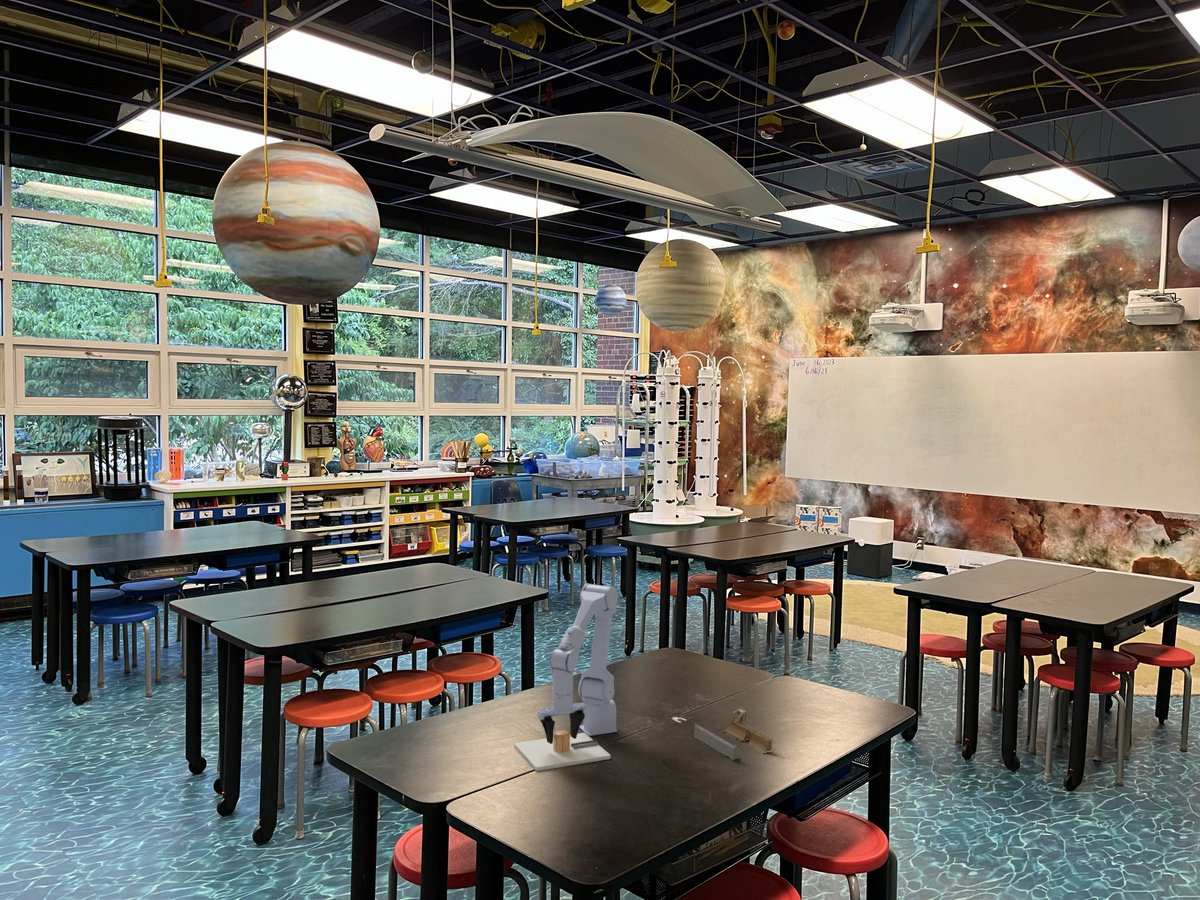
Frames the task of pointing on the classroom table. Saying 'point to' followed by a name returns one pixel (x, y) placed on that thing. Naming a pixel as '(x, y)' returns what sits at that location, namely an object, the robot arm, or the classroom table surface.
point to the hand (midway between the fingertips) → (561, 740)
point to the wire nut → (561, 741)
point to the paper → (678, 719)
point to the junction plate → (547, 758)
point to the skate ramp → (737, 730)
